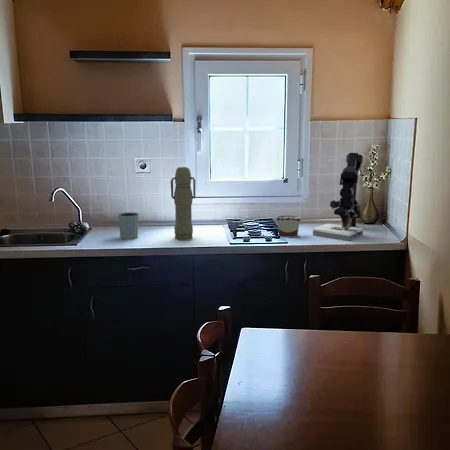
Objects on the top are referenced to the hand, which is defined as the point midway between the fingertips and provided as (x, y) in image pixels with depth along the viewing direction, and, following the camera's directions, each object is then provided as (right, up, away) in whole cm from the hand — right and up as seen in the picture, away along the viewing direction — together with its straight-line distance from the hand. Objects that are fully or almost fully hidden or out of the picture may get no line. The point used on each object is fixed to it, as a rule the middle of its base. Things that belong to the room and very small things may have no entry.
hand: (346, 226), depth 268 cm
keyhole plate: (-3, -4, +4) cm, 7 cm away
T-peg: (0, -5, +1) cm, 5 cm away
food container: (-29, -5, +3) cm, 30 cm away
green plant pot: (-109, -6, -3) cm, 109 cm away
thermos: (-82, -6, -4) cm, 82 cm away
